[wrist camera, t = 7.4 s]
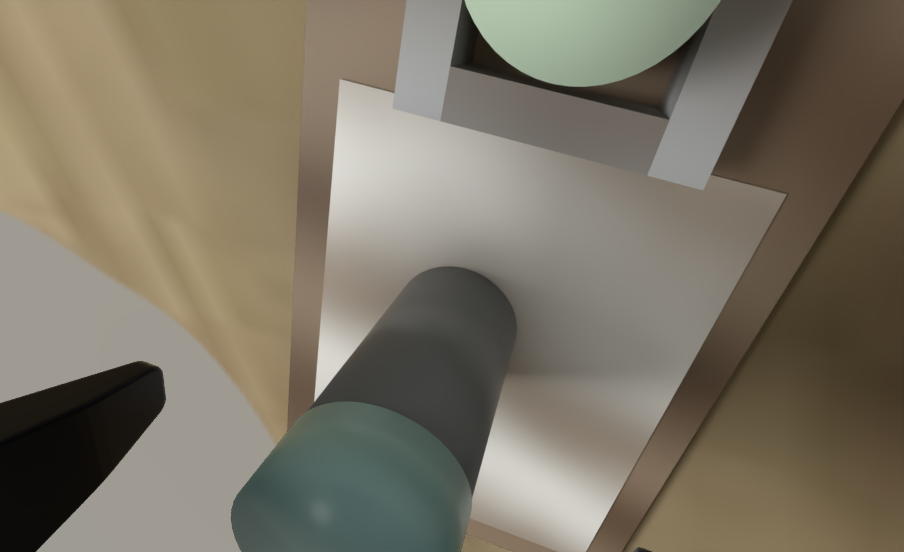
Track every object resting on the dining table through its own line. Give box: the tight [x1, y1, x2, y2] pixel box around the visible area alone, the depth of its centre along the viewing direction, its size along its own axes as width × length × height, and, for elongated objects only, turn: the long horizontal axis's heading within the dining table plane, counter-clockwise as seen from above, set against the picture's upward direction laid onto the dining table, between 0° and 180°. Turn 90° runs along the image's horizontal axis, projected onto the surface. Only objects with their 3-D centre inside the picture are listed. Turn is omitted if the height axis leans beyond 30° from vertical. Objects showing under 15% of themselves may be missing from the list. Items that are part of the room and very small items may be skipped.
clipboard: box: [287, 0, 904, 552], centre depth 12 cm, size 20×12×2 cm, turn 169°
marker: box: [231, 267, 517, 552], centre depth 10 cm, size 4×4×7 cm
